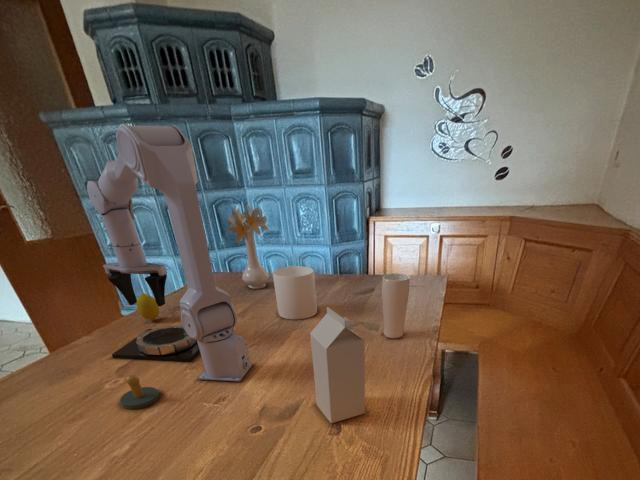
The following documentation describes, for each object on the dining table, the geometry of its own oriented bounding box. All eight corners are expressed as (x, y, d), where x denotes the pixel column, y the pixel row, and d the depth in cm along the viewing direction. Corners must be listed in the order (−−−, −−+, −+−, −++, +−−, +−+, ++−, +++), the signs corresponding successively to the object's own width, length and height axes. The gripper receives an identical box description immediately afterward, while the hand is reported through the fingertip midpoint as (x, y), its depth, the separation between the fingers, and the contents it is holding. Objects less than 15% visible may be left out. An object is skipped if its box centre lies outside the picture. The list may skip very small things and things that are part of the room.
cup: (324, 310, 118) (321, 269, 111) (300, 322, 110) (295, 279, 103) (295, 303, 123) (291, 264, 116) (270, 315, 115) (263, 273, 108)
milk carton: (331, 424, 70) (324, 324, 59) (316, 405, 75) (307, 310, 64) (365, 414, 73) (365, 316, 61) (348, 396, 78) (345, 303, 66)
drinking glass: (377, 338, 101) (378, 279, 92) (385, 328, 106) (387, 271, 97) (401, 341, 99) (405, 282, 90) (409, 332, 104) (413, 274, 95)
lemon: (155, 325, 110) (145, 297, 105) (138, 323, 111) (127, 295, 106) (166, 318, 114) (157, 290, 109) (150, 316, 115) (140, 289, 110)
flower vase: (238, 296, 130) (221, 212, 115) (241, 280, 144) (226, 204, 129) (277, 293, 132) (265, 210, 117) (276, 278, 146) (265, 202, 131)
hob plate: (218, 335, 104) (217, 330, 103) (190, 362, 91) (188, 357, 90) (150, 332, 106) (148, 327, 105) (113, 358, 93) (110, 353, 92)
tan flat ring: (205, 333, 101) (203, 326, 100) (180, 356, 91) (177, 348, 89) (158, 331, 103) (155, 324, 102) (127, 353, 92) (124, 345, 91)
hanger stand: (166, 391, 80) (157, 367, 77) (147, 410, 75) (136, 385, 71) (135, 390, 81) (125, 366, 78) (114, 408, 75) (102, 383, 72)
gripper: (85, 247, 84) (110, 308, 92) (145, 248, 82) (165, 311, 90) (106, 240, 90) (128, 299, 98) (163, 242, 88) (181, 301, 96)
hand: (147, 304), depth 94 cm, fingers open, 7 cm apart
